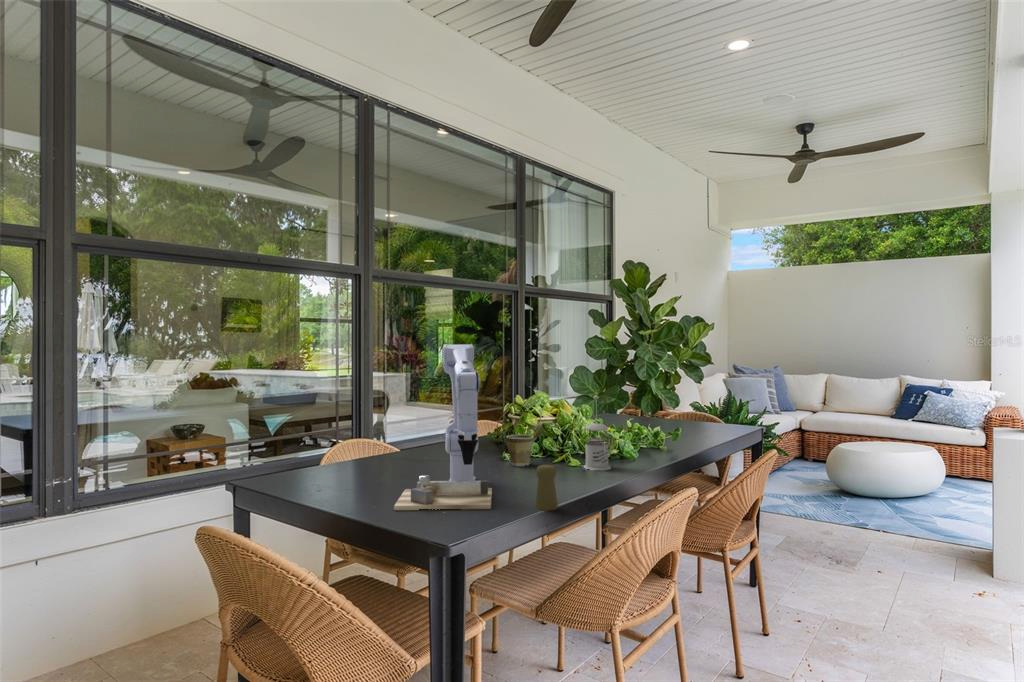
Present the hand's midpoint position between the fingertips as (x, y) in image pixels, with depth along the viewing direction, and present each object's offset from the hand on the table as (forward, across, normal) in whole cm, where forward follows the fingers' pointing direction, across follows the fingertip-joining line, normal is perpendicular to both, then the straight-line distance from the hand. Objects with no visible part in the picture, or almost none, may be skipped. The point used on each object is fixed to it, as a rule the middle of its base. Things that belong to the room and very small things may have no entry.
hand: (467, 461), depth 173 cm
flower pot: (+10, -43, +19) cm, 48 cm away
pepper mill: (+9, +16, +20) cm, 28 cm away
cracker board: (+9, +6, -6) cm, 13 cm away
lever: (+8, +4, -4) cm, 10 cm away
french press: (+10, -34, +46) cm, 57 cm away
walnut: (+8, +9, -10) cm, 16 cm away
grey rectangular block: (+8, +11, -12) cm, 19 cm away
